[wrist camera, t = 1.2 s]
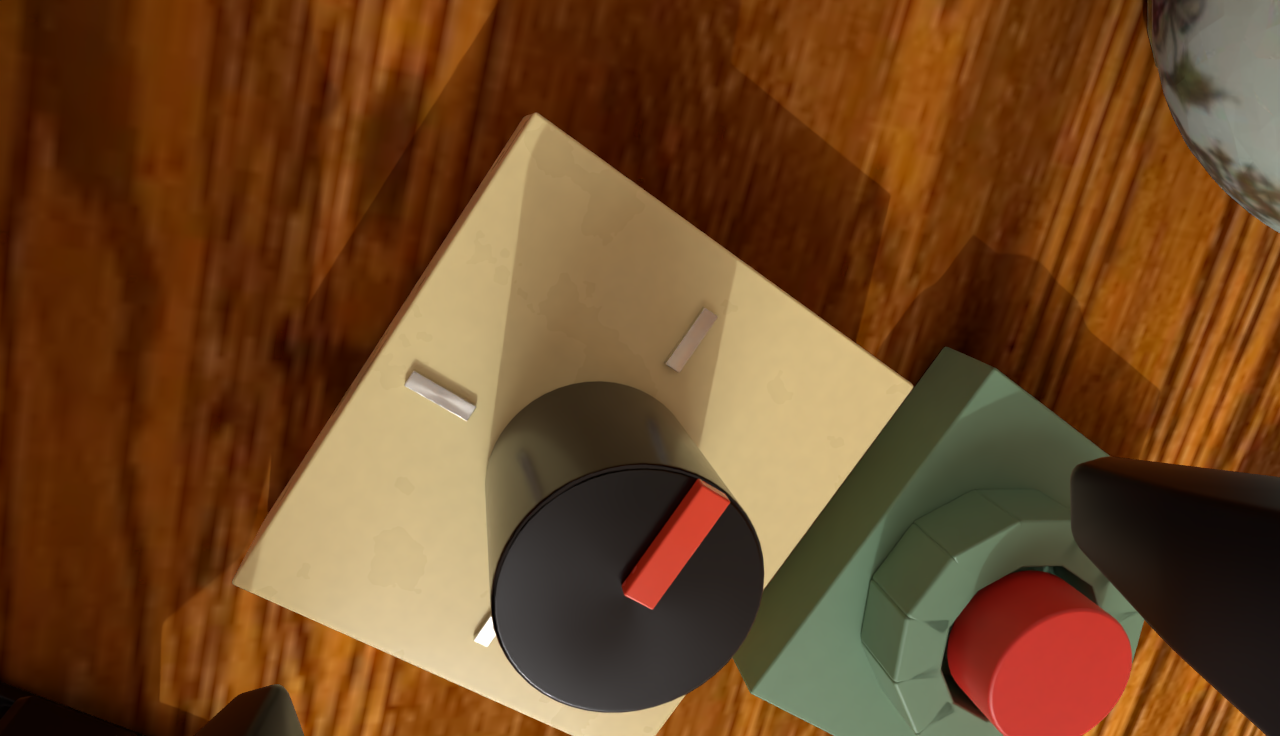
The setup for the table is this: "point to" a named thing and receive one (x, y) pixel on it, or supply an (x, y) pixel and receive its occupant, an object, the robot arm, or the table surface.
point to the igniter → (922, 558)
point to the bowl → (1225, 91)
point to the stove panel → (532, 366)
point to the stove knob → (614, 551)
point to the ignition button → (1039, 656)
